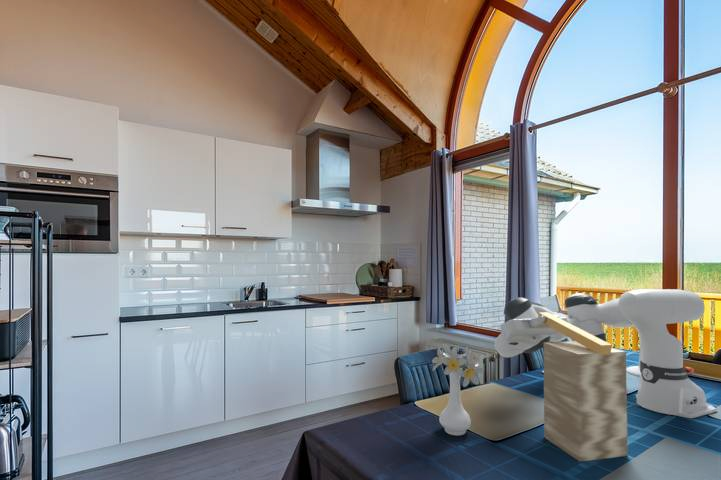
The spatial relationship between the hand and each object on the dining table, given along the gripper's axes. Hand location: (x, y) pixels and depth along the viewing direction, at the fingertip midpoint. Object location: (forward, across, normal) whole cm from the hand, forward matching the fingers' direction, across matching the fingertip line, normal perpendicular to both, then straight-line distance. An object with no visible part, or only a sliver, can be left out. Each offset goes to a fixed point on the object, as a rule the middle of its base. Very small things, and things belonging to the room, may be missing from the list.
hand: (551, 317), depth 118 cm
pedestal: (-5, 0, -34) cm, 34 cm away
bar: (+5, 0, -7) cm, 9 cm away
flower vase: (-18, +29, -26) cm, 43 cm away
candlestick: (-48, -74, -9) cm, 89 cm away
